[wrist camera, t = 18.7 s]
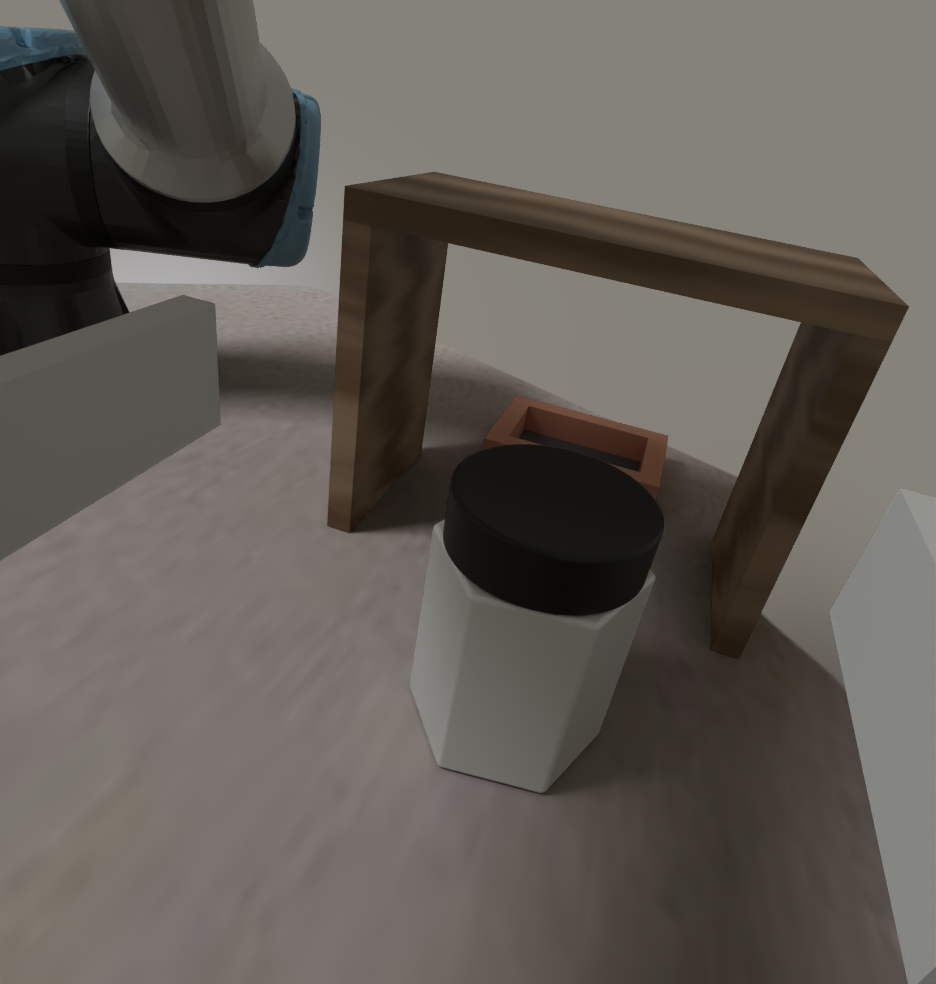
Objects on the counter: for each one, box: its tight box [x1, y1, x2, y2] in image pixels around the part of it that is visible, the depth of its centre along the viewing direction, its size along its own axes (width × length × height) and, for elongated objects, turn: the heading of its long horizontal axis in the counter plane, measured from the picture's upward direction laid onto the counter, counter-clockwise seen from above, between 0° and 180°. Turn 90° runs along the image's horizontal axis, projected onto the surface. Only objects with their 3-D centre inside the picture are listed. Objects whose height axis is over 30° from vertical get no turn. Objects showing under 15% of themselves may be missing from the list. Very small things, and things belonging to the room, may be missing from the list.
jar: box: [410, 444, 664, 793], centre depth 29 cm, size 9×8×12 cm
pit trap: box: [482, 395, 668, 500], centre depth 54 cm, size 10×13×2 cm
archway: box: [327, 172, 909, 659], centre depth 40 cm, size 12×25×20 cm, turn 72°
